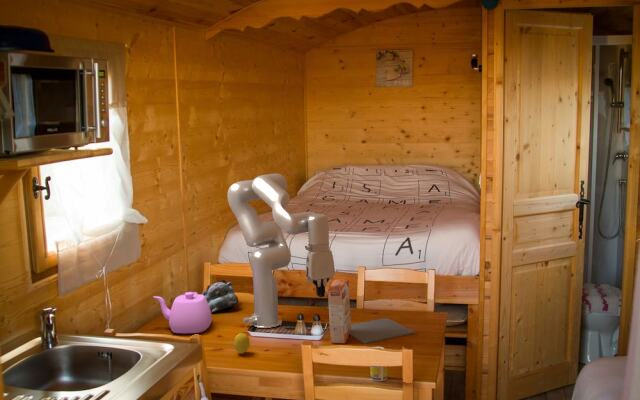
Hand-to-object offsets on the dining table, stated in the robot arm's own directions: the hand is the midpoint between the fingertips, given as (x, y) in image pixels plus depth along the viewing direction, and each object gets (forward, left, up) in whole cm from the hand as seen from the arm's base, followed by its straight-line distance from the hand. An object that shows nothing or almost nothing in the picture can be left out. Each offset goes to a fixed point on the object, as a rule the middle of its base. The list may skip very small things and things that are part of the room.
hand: (320, 296), depth 258 cm
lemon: (-30, +5, -18) cm, 35 cm away
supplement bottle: (0, -39, -18) cm, 43 cm away
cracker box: (+9, +1, -18) cm, 20 cm away
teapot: (-38, +42, -18) cm, 59 cm away
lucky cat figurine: (-18, +60, -18) cm, 65 cm away
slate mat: (+24, +1, -18) cm, 30 cm away
